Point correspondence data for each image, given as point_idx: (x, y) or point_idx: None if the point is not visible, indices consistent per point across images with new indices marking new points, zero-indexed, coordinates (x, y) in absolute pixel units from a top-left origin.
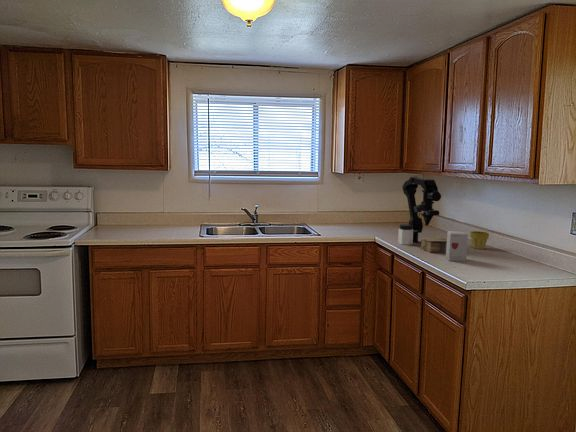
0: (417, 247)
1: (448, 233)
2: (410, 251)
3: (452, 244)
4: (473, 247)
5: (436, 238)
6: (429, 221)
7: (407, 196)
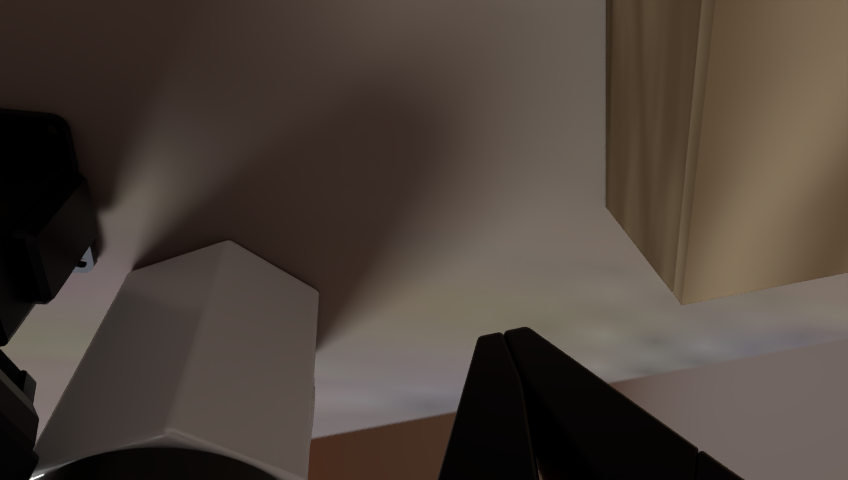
0: (495, 223)
1: None
2: (714, 330)
3: None
4: None
5: (817, 27)
6: (645, 431)
7: None
